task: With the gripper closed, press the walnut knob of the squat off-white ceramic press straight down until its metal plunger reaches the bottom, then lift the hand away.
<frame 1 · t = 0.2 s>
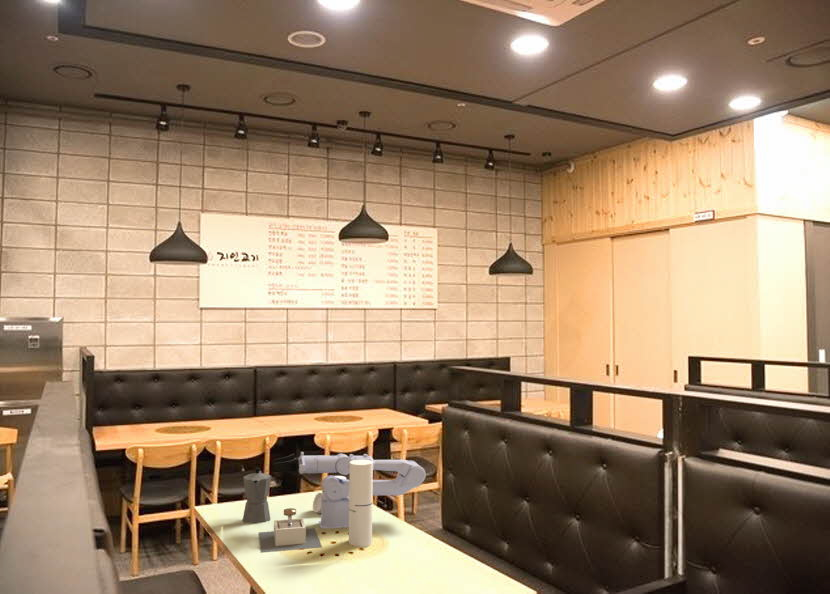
hand: (274, 464, 212), 21 cm above the table, tool horizontal, fingers open, 7 cm apart
spread jar: (330, 511, 233), on the table
mat: (289, 541, 201), on the table
press: (289, 539, 201), resting on mat
plunger: (289, 518, 201), point 7 cm above the table, slide at 0.0 cm
cylindrical container: (360, 544, 200), on the table
coffeepot: (256, 520, 222), on the table
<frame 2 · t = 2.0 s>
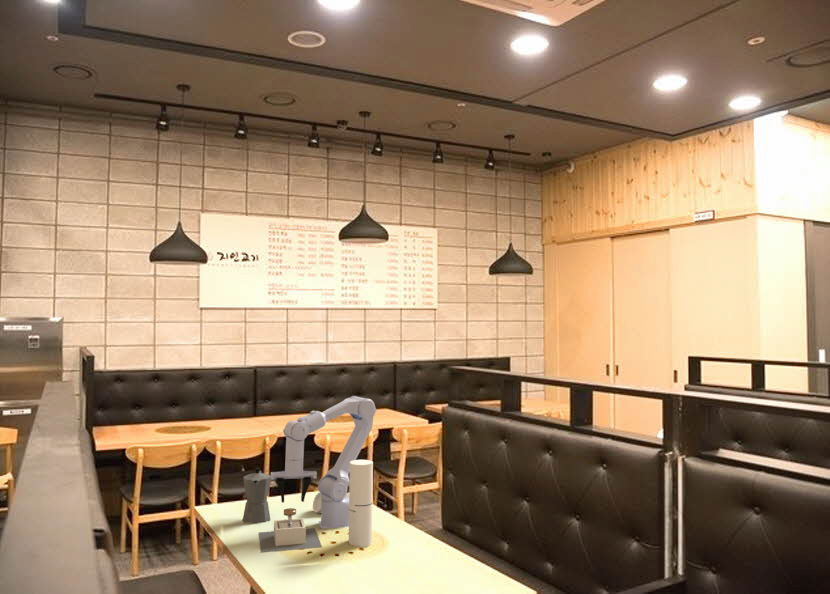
hand: (292, 501, 208), 10 cm above the table, tool pointing down, fingers open, 6 cm apart
nothing on the table moved.
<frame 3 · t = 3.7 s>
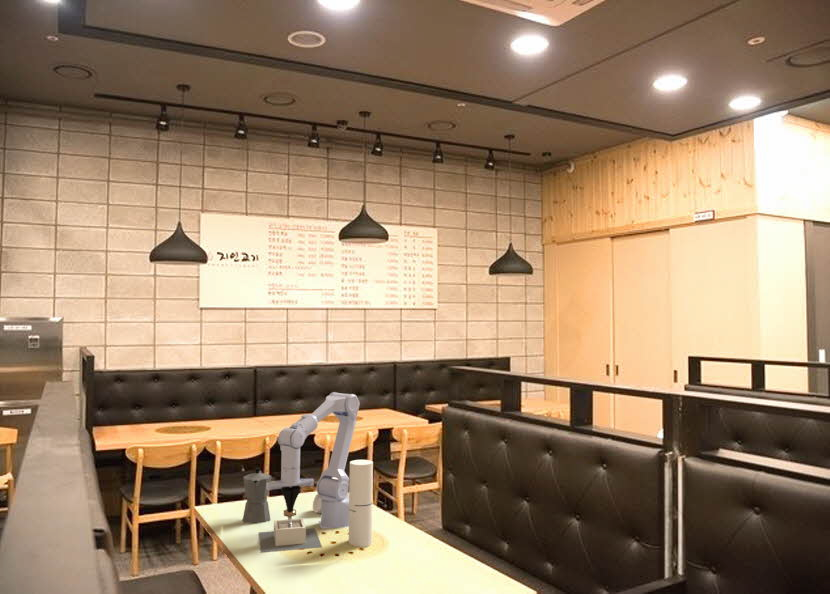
hand: (289, 511, 201), 9 cm above the table, tool pointing down, fingers closed, pressing on plunger
plunger: (289, 519, 201), point 7 cm above the table, slide at 0.2 cm, touching gripper
everything else where it was.
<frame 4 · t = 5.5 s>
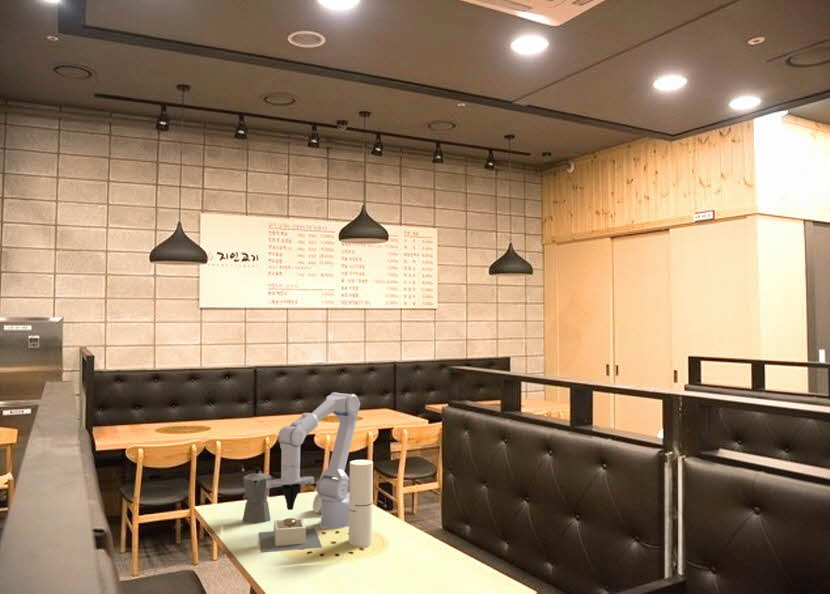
hand: (290, 508, 201), 10 cm above the table, tool pointing down, fingers closed
plunger: (289, 528, 201), point 4 cm above the table, slide at 3.1 cm
everything else where it was.
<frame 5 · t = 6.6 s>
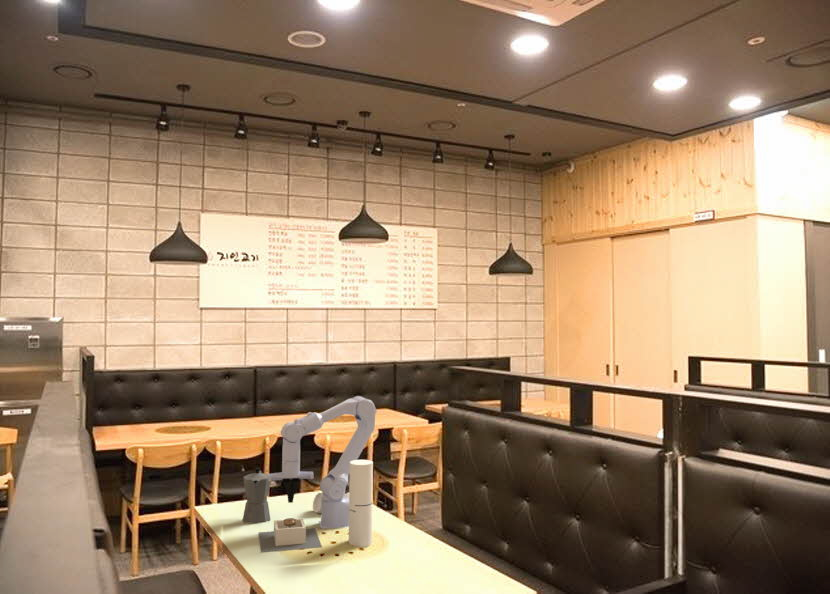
hand: (290, 501, 211), 9 cm above the table, tool pointing down, fingers closed
nothing on the table moved.
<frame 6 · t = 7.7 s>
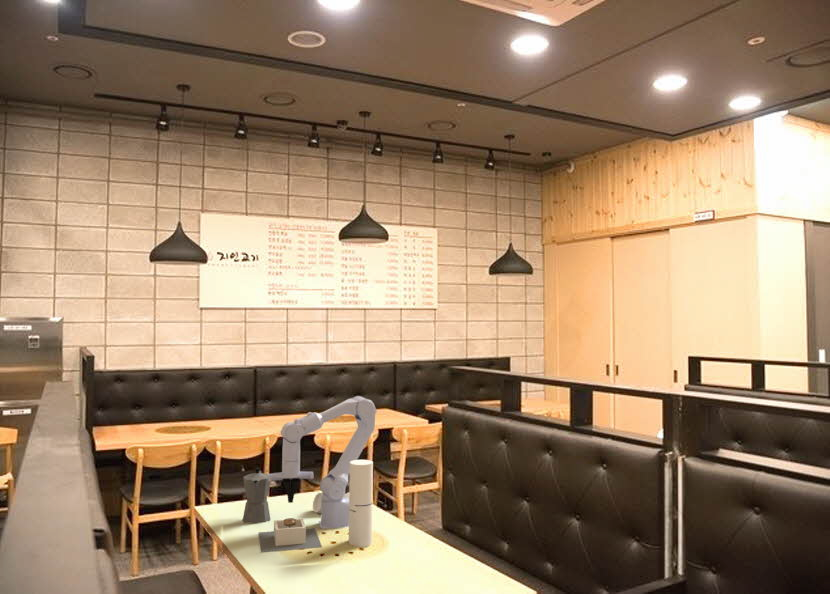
hand: (290, 501, 211), 9 cm above the table, tool pointing down, fingers closed
nothing on the table moved.
at the end: plunger slide at 3.1 cm; the gripper is holding nothing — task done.
